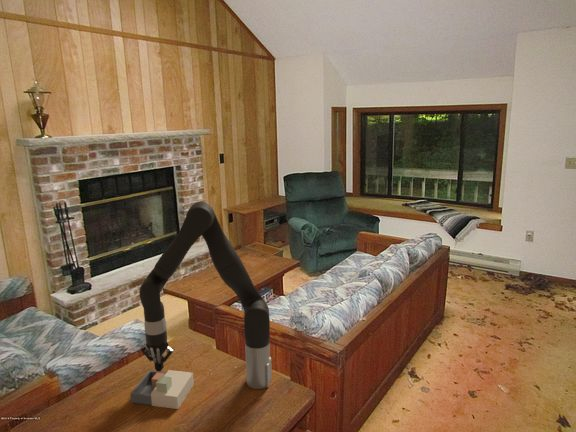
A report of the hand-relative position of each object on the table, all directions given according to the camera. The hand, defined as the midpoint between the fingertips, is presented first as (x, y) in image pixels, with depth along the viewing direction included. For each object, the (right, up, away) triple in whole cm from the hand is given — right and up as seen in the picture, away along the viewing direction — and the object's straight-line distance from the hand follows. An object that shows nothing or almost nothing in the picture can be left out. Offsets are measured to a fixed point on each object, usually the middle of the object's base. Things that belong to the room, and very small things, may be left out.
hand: (159, 370), depth 158 cm
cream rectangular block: (+6, -8, -3) cm, 10 cm away
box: (-3, -8, -1) cm, 8 cm away
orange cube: (+1, -4, +1) cm, 5 cm away
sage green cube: (+4, -4, -7) cm, 9 cm away
